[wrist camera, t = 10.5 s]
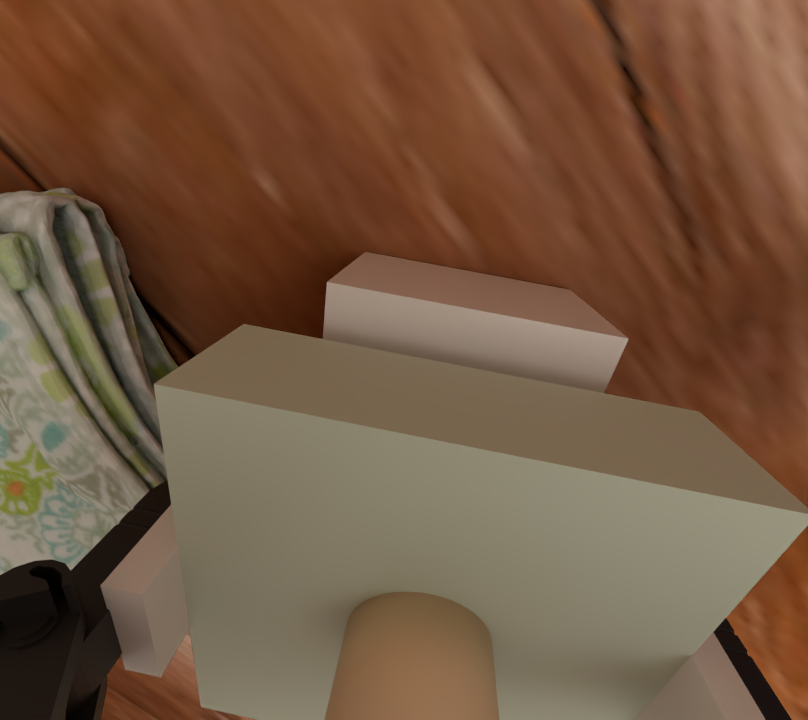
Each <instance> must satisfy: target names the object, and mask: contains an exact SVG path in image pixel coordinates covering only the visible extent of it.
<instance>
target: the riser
mask: <svg viewBox="0 0 808 720" xmlns="http://www.w3.org/2000/svg"><path fill="white" fill-rule="evenodd" d="M323 339H325V340H330V341H335V342H341V343H346V344H351V345H356V346H361V347H367V348H372V349H377V350H382V351H387V352H393V353H398V354H403V355H408V356H413V357H418V358H424V359H429V360H434V361H439V362H444V363H450V364H455V365H460V366H465V367H470V368H476V369H481V370H486V371H491V372H496V373H502V374H507V375H512V376H517V377H522V378H527V379H533V380H538V381H543V382H548V383H553V384H559V385H564V386H569V387H574V388H579V389H585V390H590V391H595V392H600V393H604V392H605V390H606V388H607V386H608V383H609V381H610V379H611V377H612V375H613V372H614V370H615V368H616V366H617V364H618V361H619V359H620V357H621V355H622V353H623V350H624V348H625V346H626V344H627V342H628V339H629V338H627V337H626V336H625V335H624V334H623V333H621V332H620V331H619V330H618V329H617V328H615V327H614V326H613V325H612V324H611V323H609V322H608V321H607V320H606V319H605V318H603V317H602V316H601V315H600V314H599V313H597V312H596V311H595V310H594V309H593V308H591V307H590V306H589V305H588V304H587V303H585V302H584V301H583V300H582V299H581V298H580V297H578V296H577V295H576V294H575V293H574V292H572V291H571V290H569V289H564V288H558V287H553V286H547V285H542V284H537V283H531V282H526V281H520V280H515V279H510V278H504V277H499V276H493V275H488V274H483V273H477V272H472V271H466V270H461V269H456V268H450V267H445V266H439V265H434V264H429V263H423V262H418V261H412V260H407V259H402V258H396V257H391V256H385V255H380V254H375V253H369V252H365V253H363V254H362V255H361V256H360V257H358V258H357V259H356V260H354V261H353V262H352V263H351V264H349V265H348V266H347V267H345V268H344V269H343V270H342V271H340V272H339V273H338V274H336V275H335V276H334V277H333V278H331V279H330V280H329V281H327V287H326V301H325V315H324V328H323Z"/></svg>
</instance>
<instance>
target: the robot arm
mask: <svg viewBox="0 0 808 720" xmlns="http://www.w3.org/2000/svg"><path fill="white" fill-rule="evenodd" d="M189 628H190V625H189V618H188V611H187V605H186V598H185V591H184V584H183V577H182V570H181V563H180V557H179V550H178V547H177V540H176V534H175V527H174V520H173V513H172V506H171V499H170V493H169V486H168V480H166V481H165V482H163V483H161V484H159V485H158V486H156V487H154V488H153V489H151V490H150V491H149V492H148V493H147V494H146V495H145V496H144V497H143V498H142V499H141V500H140V501H139V502H138V503H137V504H136V505H135V506H134V508H133V510H130V511H129V512H128V513H127V514H126V515H125V516H124V517H123V518H122V519H121V520H120V522H119V524H118V525H115V526H114V527H113V528H112V529H111V530H110V531H109V532H108V533H107V534H106V535H105V536H104V537H103V538H102V539H101V540H100V541H99V542H98V543H97V544H96V545H95V546H94V548H93V549H92V550H91V551H90V552H89V553H88V554H87V555H86V556H85V557H84V558H83V559H82V560H81V561H80V562H79V563H78V564H77V565H76V566H75V567H74V568H73V569H72V570H70V569H69V568H68V566H67V565H66V564H65V563H63V562H60V561H56V560H53V559H51V560H38V561H33V562H29V563H26V564H23V565H20V566H17V567H14V568H12V569H10V570H9V571H7V572H5V573H3V574H1V575H0V720H101V715H102V710H103V705H104V700H105V695H106V690H107V674H108V672H109V671H110V670H111V668H112V667H113V665H114V664H115V662H116V661H117V660H118V658H119V657H120V655H121V657H122V660H123V664H124V667H125V670H129V671H134V672H138V673H143V674H147V675H152V676H157V677H161V676H162V674H163V673H164V671H165V669H166V668H167V666H168V664H169V663H170V661H171V659H172V657H173V656H174V654H175V652H176V651H177V649H178V647H179V645H180V644H181V642H182V640H183V639H184V637H185V635H186V634H187V632H188V630H189ZM635 720H791V718H790V717H789V715H788V713H787V712H786V710H785V709H784V707H783V706H782V704H781V703H780V701H779V699H778V698H777V696H776V695H775V693H774V692H773V690H772V689H771V687H770V686H769V684H768V682H767V681H766V679H765V678H764V676H763V675H762V673H761V672H760V670H759V668H758V667H757V665H756V664H755V662H754V661H753V659H752V658H751V657H750V656H748V655H747V650H746V648H745V647H744V645H743V644H742V642H741V641H740V639H739V637H738V636H736V635H735V634H734V630H733V628H732V627H731V625H730V624H729V622H728V620H727V619H726V618H725V619H724V620H723V622H722V623H721V624H720V625H719V626H718V627H717V628H716V629H715V631H714V632H713V633H712V634H711V635H710V636H709V637H708V638H707V640H706V641H705V642H704V643H703V644H702V645H701V646H700V648H699V649H698V650H697V651H696V652H695V653H694V654H693V655H691V657H690V658H689V659H688V660H687V661H686V662H685V663H684V665H683V666H682V667H681V668H680V669H679V670H678V671H677V672H676V674H675V675H674V676H673V677H672V678H671V679H670V680H669V682H668V683H667V684H666V685H665V686H664V687H663V688H662V689H661V691H660V692H659V693H658V694H657V695H656V696H655V697H654V699H653V700H652V701H651V702H650V703H649V704H648V705H647V706H646V708H645V709H644V710H643V711H642V712H641V713H640V714H639V716H638V717H637V718H636V719H635Z"/></svg>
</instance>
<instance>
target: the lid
mask: <svg viewBox="0 0 808 720" xmlns="http://www.w3.org/2000/svg"><path fill="white" fill-rule="evenodd" d="M154 390H155V397H156V404H157V411H158V418H159V424H160V431H161V438H162V445H163V452H164V459H165V465H166V472H167V479H168V486H169V493H170V499H171V506H172V513H173V520H174V527H175V534H176V540H177V547H178V550H179V557H180V563H181V570H182V577H183V584H184V591H185V598H186V605H187V611H188V618H189V625H190V628H189V629H190V636H191V643H192V650H193V656H194V663H195V670H196V677H197V684H198V691H199V697H200V704H201V707H203V708H208V709H212V710H217V711H221V712H226V713H230V714H234V715H239V716H243V717H248V718H252V719H257V720H635V719H636V718H637V717H638V716H639V714H640V713H641V712H642V711H643V710H644V709H645V708H646V706H647V705H648V704H649V703H650V702H651V701H652V700H653V699H654V697H655V696H656V695H657V694H658V693H659V692H660V691H661V689H662V688H663V687H664V686H665V685H666V684H667V683H668V682H669V680H670V679H671V678H672V677H673V676H674V675H675V674H676V672H677V671H678V670H679V669H680V668H681V667H682V666H683V665H684V663H685V662H686V661H687V660H688V659H689V658H690V657H691V655H693V654H694V653H695V652H696V651H697V650H698V649H699V648H700V646H701V645H702V644H703V643H704V642H705V641H706V640H707V638H708V637H709V636H710V635H711V634H712V633H713V632H714V631H715V629H716V628H717V627H718V626H719V625H720V624H721V623H722V622H723V620H724V619H725V618H726V617H727V616H728V615H729V614H730V612H731V611H732V610H733V609H734V608H735V607H736V606H737V605H738V603H739V602H740V601H741V600H742V599H743V598H744V597H745V596H746V594H747V593H748V592H749V591H750V590H751V589H752V588H753V586H754V585H755V584H756V583H757V582H758V581H759V580H760V579H761V577H762V576H763V575H764V574H765V573H766V572H767V571H768V570H769V568H770V567H771V566H772V565H773V564H774V563H775V562H776V560H777V559H778V558H779V557H780V556H781V555H782V554H783V553H784V551H785V550H786V549H787V548H788V547H789V546H790V545H791V544H792V542H793V541H794V540H795V539H796V538H797V537H798V536H799V535H800V533H801V532H802V531H803V530H804V529H805V528H806V527H807V525H808V508H807V507H806V506H805V505H804V504H803V503H801V502H800V501H799V500H798V499H797V498H796V497H795V496H794V495H792V494H791V493H790V492H789V491H788V490H787V489H786V488H785V487H783V486H782V485H781V484H780V483H779V482H778V481H777V480H776V479H774V478H773V477H772V476H771V475H770V474H769V473H768V472H767V471H765V470H764V469H763V468H762V467H761V466H760V465H759V464H758V463H756V462H755V461H754V460H753V459H752V458H751V457H750V456H749V455H748V454H746V453H745V452H744V451H743V450H742V449H741V448H740V447H739V446H737V445H736V444H735V443H734V442H733V441H732V440H731V439H730V438H728V437H727V436H726V435H725V434H724V433H723V432H722V431H721V430H719V429H718V428H717V427H716V426H715V425H714V424H713V423H712V422H710V421H709V420H708V419H707V418H706V417H705V416H704V415H703V414H702V413H700V412H699V411H694V410H688V409H683V408H678V407H673V406H668V405H662V404H657V403H652V402H647V401H642V400H636V399H631V398H626V397H621V396H616V395H611V394H605V393H600V392H595V391H590V390H585V389H579V388H574V387H569V386H564V385H559V384H553V383H548V382H543V381H538V380H533V379H527V378H522V377H517V376H512V375H507V374H502V373H496V372H491V371H486V370H481V369H476V368H470V367H465V366H460V365H455V364H450V363H444V362H439V361H434V360H429V359H424V358H418V357H413V356H408V355H403V354H398V353H393V352H387V351H382V350H377V349H372V348H367V347H361V346H356V345H351V344H346V343H341V342H335V341H330V340H325V339H320V338H315V337H309V336H304V335H299V334H294V333H289V332H284V331H278V330H273V329H268V328H263V327H258V326H252V325H247V324H243V325H241V326H240V327H238V328H237V329H235V330H234V331H232V332H231V333H229V334H228V335H226V336H225V337H223V338H222V339H220V340H219V341H217V342H216V343H214V344H213V345H211V346H210V347H208V348H207V349H205V350H204V351H202V352H201V353H199V354H198V355H196V356H195V357H193V358H192V359H190V360H189V361H187V362H186V363H184V364H183V365H181V366H180V367H178V368H177V369H175V370H174V371H172V372H171V373H169V374H168V375H166V376H165V377H163V378H162V379H160V380H159V381H157V382H156V383H154Z"/></svg>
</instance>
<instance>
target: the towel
mask: <svg viewBox="0 0 808 720" xmlns="http://www.w3.org/2000/svg"><path fill="white" fill-rule="evenodd" d="M129 275H130V270H129V268H128V266H127V261H126V257H125V253H124V250H123V248H122V245H121V243H120V241H119V239H118V238H117V236H115V235H114V234H113V231H112V229H111V228H110V226H109V225H108V223H107V221H106V218H105V215H104V212H103V210H102V208H101V207H100V206H98V205H97V204H95V203H93V202H90V201H89V200H86V199H84V198H82V197H80V196H77V195H76V194H75V193H74V192H73V191H72V190H71V189H69V188H56V189H51V190H48V191H45V192H34V191H17V192H6V193H2V194H0V575H1V574H3V573H5V572H7V571H9V570H10V569H12V568H14V567H17V566H20V565H23V564H26V563H29V562H33V561H38V560H51V559H53V560H56V561H60V562H63V563H65V564H66V565H67V566H68V568H69V569H70V570H72V569H73V568H74V567H75V566H76V565H77V564H78V563H79V562H80V561H81V560H82V559H83V558H84V557H85V556H86V555H87V554H88V553H89V552H90V551H91V550H92V549H93V548H94V546H95V545H96V544H97V543H98V542H99V541H100V540H101V539H102V538H103V537H104V536H105V535H106V534H107V533H108V532H109V531H110V530H111V529H112V528H113V527H114V526H115V525H118V524H119V522H120V520H121V519H122V518H123V517H124V516H125V515H126V514H127V513H128V512H129V511H130V510H133V508H134V506H135V505H136V504H137V503H138V502H139V501H140V500H141V499H142V498H143V497H144V496H145V495H146V494H147V493H148V492H149V491H150V490H151V489H153V488H154V487H156V486H158V485H159V484H161V483H163V482H165V481H166V480H168V479H167V472H166V465H165V459H164V452H163V445H162V438H161V431H160V424H159V418H158V411H157V404H156V397H155V390H154V383H156V382H157V381H159V380H160V379H162V378H163V377H165V376H166V375H168V374H169V373H171V372H172V371H174V370H175V369H177V368H178V366H177V364H176V363H175V361H174V360H173V359H172V357H171V356H170V354H169V352H168V351H167V349H166V348H165V346H164V344H163V342H162V340H161V338H160V336H159V335H158V333H157V331H156V329H155V327H154V325H153V324H152V322H151V320H150V318H149V316H148V315H147V313H146V311H145V309H144V308H143V306H142V304H141V302H140V300H139V298H138V297H137V295H136V292H135V290H134V288H133V286H132V284H131V282H130V280H129V277H128V276H129Z"/></svg>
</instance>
